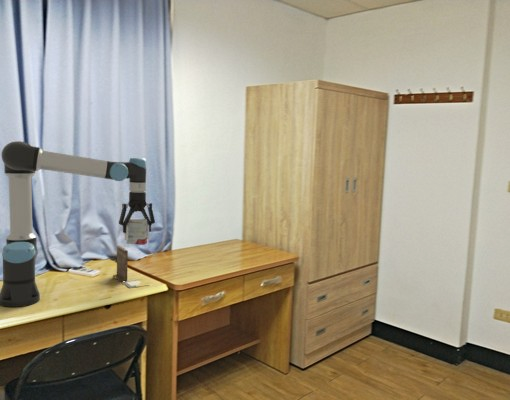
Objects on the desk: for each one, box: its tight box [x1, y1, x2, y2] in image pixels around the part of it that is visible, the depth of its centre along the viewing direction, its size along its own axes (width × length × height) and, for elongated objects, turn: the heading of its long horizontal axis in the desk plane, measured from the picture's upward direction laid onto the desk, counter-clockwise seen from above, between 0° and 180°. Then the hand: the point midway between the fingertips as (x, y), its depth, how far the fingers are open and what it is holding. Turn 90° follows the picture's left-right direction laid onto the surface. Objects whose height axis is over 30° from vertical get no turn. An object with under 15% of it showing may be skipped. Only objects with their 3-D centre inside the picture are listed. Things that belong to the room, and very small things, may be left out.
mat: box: [122, 279, 141, 289], centre depth 220 cm, size 10×10×1 cm
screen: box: [112, 245, 129, 283], centre depth 227 cm, size 3×12×15 cm, turn 33°
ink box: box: [126, 217, 148, 246], centre depth 218 cm, size 9×5×12 cm, turn 84°
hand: (136, 239), depth 218 cm, fingers closed on ink box, 9 cm apart
